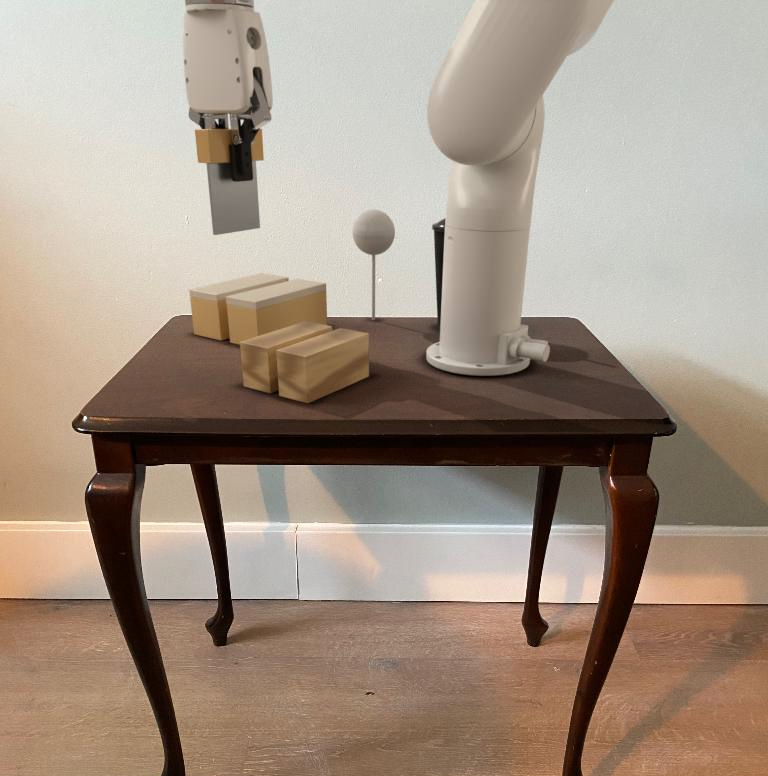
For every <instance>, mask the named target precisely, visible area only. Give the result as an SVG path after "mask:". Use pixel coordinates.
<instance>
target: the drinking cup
mask: <svg viewBox="0 0 768 776" xmlns="http://www.w3.org/2000/svg"><path fill="white" fill-rule="evenodd" d="M445 218H446V217H444V218H443V219H440V220H439V221H437V222H435V223H432V225H431V230H433V241H434V267H435V269H434V270H435V292H436V295H435V296H436V315H437V317H436V318H437V320H436V321H437V329H438V330H440V324H441V302H442V280H443V258H444V236H445Z"/></svg>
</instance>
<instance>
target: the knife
mask: <svg viewBox="0 0 768 776" xmlns="http://www.w3.org/2000/svg"><path fill="white" fill-rule="evenodd" d="M194 137H195V147H196V156H197V163H199V164H206V173H207V183H208V184H207V185H208V194H209V195H208V196H209V205H210V214H211V216H210V217H211V226H212V235H213V236H219V235H226V234H232V233H238V232H244V231H245V232H246V231H250V230H256V229H257V230H258V229H261V219H260V205H259V203H260V202H259V189H258V174H257V171H258V170H257V162H260V161H264V160H265V155H264V141H263V129H262V128H260V129H259V131H258V133H257V134H256V136H255V142H254V144H251V151H252V166H253V180H251V181H240V182H234V181H232V179H231V170H230V154H229V145H231V144H234V143H233V142H232V136H231V128H229V129H202V128H194Z"/></svg>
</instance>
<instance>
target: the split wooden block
mask: <svg viewBox="0 0 768 776" xmlns="http://www.w3.org/2000/svg"><path fill="white" fill-rule="evenodd" d="M239 348H240V358H241V371H242V382H243V387H245V388H248V389H252V390H256V391H260V392H264V393H267V394H272V393H275V392H278V396H279V397H281V398H286V399H290V400H293V401H296V402H297V401H298V402H301V403H304V404H310V403H313V402H314V401H317V400H319V399H321V398H323V397H325V396H328V395H330V394H332V393H335V392H337V391H340V390H342V389H344V388H346V387H348V386H351V385H353V384H355V383H357V382H359V381H363V380H364V379H366V378H368V377H370V333H368V332H363V331H358V330H353V329H348V328H342V327H340V328H337V329H333V326H332V325H328V324H327V325H323V324H318V323H313V322H307V321H305V322H302V323H299V324H295V325H292V326H289V327H286V328H283V329H279V330H276V331H273V332H270V333H267V334H264V335H260V336H257V337H254V338H251V339H248V340H245V341H241V342H240V345H239Z"/></svg>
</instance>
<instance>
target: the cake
mask: <svg viewBox="0 0 768 776" xmlns="http://www.w3.org/2000/svg"><path fill="white" fill-rule="evenodd" d="M188 293H189V301H190V309H191V320H192V326H193V334H194V335H196V336H200V337H204V338H209V339H213V340H217V341H220V342H221V341H225V340H228V339H229V342H230V344H234V345H238V346H240V342H241V341H245V340H248V339H251V338H254V337H257V336H260V335H264V334H267V333H270V332H273V331H276V330H279V329H283V328H286V327H289V326H292V325H295V324H299V323H302V322H305V321H307V322H313V323H318V324H323V325H328V304H327V302H328V300H327V299H328V298H327V283H326V282H321V281H314V280H309V279H301V278H295V279H291V280H290V278H289V276H283V275H276V274H272V273H271V274H269V273H263V272H260V273H256V274H251V275H247V276H243V277H239V278H234V279H230V280H229V279H228V280H225V281H220V282H216V283H212V284H208V285H203V286H198V287H194V288H190V289H188Z"/></svg>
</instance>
